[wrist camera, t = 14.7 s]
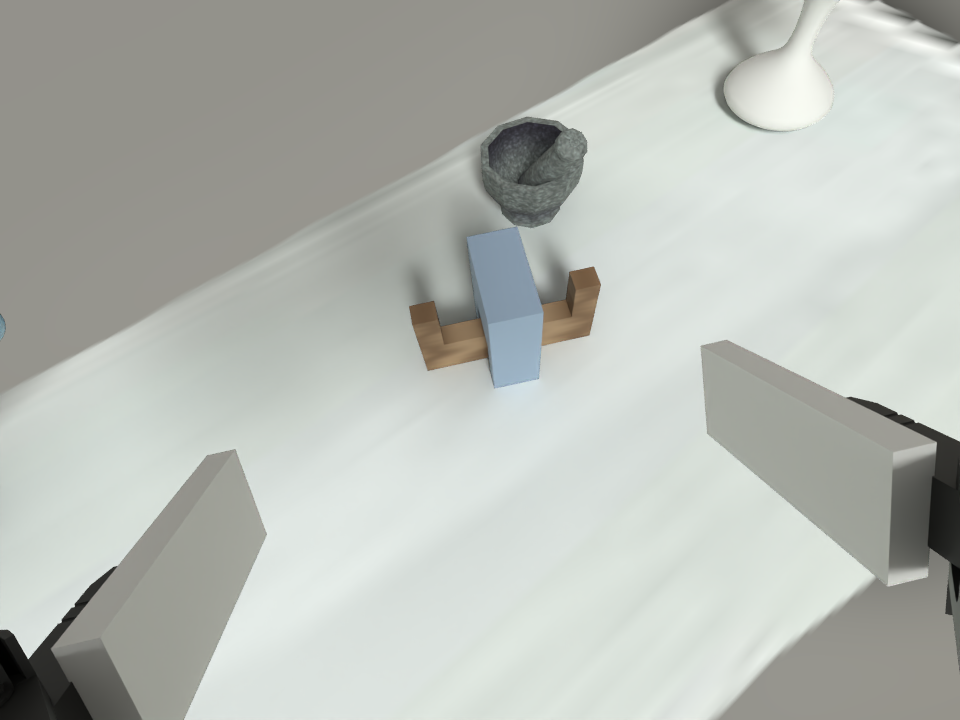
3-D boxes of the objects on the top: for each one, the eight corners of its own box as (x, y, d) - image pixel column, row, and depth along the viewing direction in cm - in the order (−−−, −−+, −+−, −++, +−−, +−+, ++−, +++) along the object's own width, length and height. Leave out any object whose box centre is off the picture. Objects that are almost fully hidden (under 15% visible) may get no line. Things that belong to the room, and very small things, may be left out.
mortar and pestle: (466, 200, 59) (454, 102, 48) (533, 157, 61) (536, 54, 50) (535, 265, 54) (539, 173, 44) (605, 216, 56) (625, 117, 46)
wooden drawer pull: (427, 370, 50) (412, 325, 43) (424, 353, 51) (408, 306, 43) (589, 335, 50) (600, 284, 43) (583, 318, 51) (593, 266, 44)
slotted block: (494, 388, 49) (488, 324, 39) (476, 312, 52) (466, 237, 42) (538, 378, 49) (543, 312, 39) (517, 304, 52) (517, 226, 43)
